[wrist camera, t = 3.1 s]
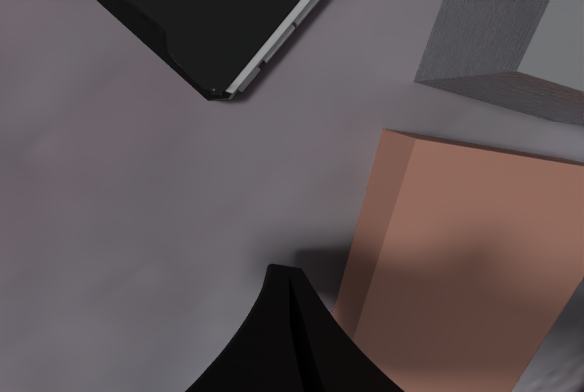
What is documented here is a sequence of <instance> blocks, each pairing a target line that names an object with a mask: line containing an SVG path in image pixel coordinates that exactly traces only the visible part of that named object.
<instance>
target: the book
mask: <svg viewBox="0 0 584 392" xmlns="http://www.w3.org/2000/svg"><path fill="white" fill-rule="evenodd" d="M583 277H584V163H581V162H577V161H572V160H567V159H562V158H556V157H550V156H544V155H538V154H532V153H526V152H520V151H513V150H507V149H501V148H495V147H489V146H483V145H477V144H471V143H465V142H459V141H453V140H447V139H441V138H435V137H429V136H423V135H417V134H411V133H405V132H399V131H393V130H387V129H383V131H382V135H381V138H380V142H379V146H378V149H377V153H376V157H375V160H374V164H373V168H372V172H371V175H370V179H369V183H368V186H367V190H366V194H365V197H364V201H363V205H362V209H361V212H360V216H359V220H358V223H357V227H356V231H355V234H354V238H353V242H352V245H351V249H350V253H349V257H348V260H347V264H346V268H345V271H344V275H343V279H342V282H341V286H340V290H339V294H338V297H337V301H336V305H335V308H334V312H333V318H334V319H335V320H336V322H337V323H338V324H339V326H340V327H341V328H342V329H343V330H344V332H345V333H346V334H347V335H348V336H349V338H350V339H351V340H352V341H353V342H354V343H355V344H356V345H357V346H358V348H359V349H360V350H361V351H362V352H363V353H364V354H365V355H366V356H367V357H368V358H369V359H370V360H371V361H372V362H373V363H374V364H375V365H376V366H377V367H378V368H379V369H380V370H381V371H382V372H383V373H384V374H385V375H387V376H388V377H389V378H390V379H391V380H392V381H393V382H394V383H395V384H397V385H398V386H399V387H400V388H401V389H402V390H404V391H405V392H511V391H512V390H513V388H514V386H515V385H516V383H517V382H518V380H519V378H520V377H521V375H522V374H523V372H524V371H525V369H526V367H527V366H528V364H529V363H530V361H531V359H532V358H533V356H534V355H535V353H536V352H537V350H538V348H539V347H540V345H541V344H542V342H543V340H544V339H545V337H546V336H547V334H548V333H549V331H550V329H551V328H552V326H553V325H554V323H555V321H556V320H557V318H558V317H559V315H560V314H561V312H562V310H563V309H564V307H565V306H566V304H567V302H568V301H569V299H570V298H571V296H572V295H573V293H574V291H575V290H576V288H577V287H578V285H579V283H580V282H581V280H582V279H583Z"/></svg>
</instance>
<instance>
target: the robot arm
mask: <svg viewBox="0 0 584 392" xmlns="http://www.w3.org/2000/svg"><path fill="white" fill-rule="evenodd" d="M185 392H405V391H404V390H402V389H401V388H400V387H399V386H398V385H397V384H395V383H394V382H393V381H392V380H391V379H390V378H389V377H388V376H387V375H385V374H384V373H383V372H382V371H381V370H380V369H379V368H378V367H377V366H376V365H375V364H374V363H373V362H372V361H371V360H370V359H369V358H368V357H367V356H366V355H365V354H364V353H363V352H362V351H361V350H360V349H359V348H358V346H357V345H356V344H355V343H354V342H353V341H352V340H351V339H350V338H349V336H348V335H347V334H346V333H345V332H344V330H343V329H342V328H341V327H340V326H339V324H338V323H337V322H336V320H335V319H334V318H333V316H332V315H331V314H330V312H329V311H328V310H327V308H326V307H325V305H324V304H323V302H322V301H321V299H320V298H319V296H318V295H317V293H316V292H315V290H314V288H313V287H312V285H311V284H310V282H309V280H308V279H307V277H306V275H305V274H304V272H303V270H302V269H301V268H295V267H289V266H283V265H277V264H270V265H268V267H267V271H266V275H265V279H264V283H263V287H262V289H261V292H260V294H259V296H258V298H257V300H256V302H255V304H254V305H253V307H252V309H251V311H250V313H249V314H248V316H247V317H246V319H245V321H244V322H243V324H242V325H241V327H240V328H239V330H238V331H237V332H236V334H235V335H234V337H233V338H232V339H231V340H230V342H229V343H228V344H227V346H226V347H225V348H224V350H223V351H222V352H221V353H220V354H219V356H218V357H217V358H216V359H215V360H214V361H213V362H212V364H211V365H210V366H209V367H208V368H207V369H206V370H205V371H204V373H203V374H202V375H201V376H200V377H199V378H198V379H197V380H196V381H195V382H194V383H193V384H192V385H191V386H190V387H189V388H188V389H187V390H186V391H185Z"/></svg>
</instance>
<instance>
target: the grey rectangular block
mask: <svg viewBox="0 0 584 392" xmlns="http://www.w3.org/2000/svg"><path fill="white" fill-rule="evenodd" d="M413 82H417V83H420V84H424V85H427V86H431V87H434V88H438V89H441V90H445V91H448V92H452V93H455V94H459V95H462V96H466V97H470V98H473V99H477V100H480V101H484V102H487V103H491V104H494V105H498V106H501V107H505V108H508V109H512V110H515V111H519V112H522V113H526V114H530V115H533V116H537V117H540V118H544V119H547V120H551V121H557V122H568V123H579V124H584V0H443V1H442V4H441V7H440V10H439V12H438V15H437V18H436V21H435V23H434V26H433V29H432V32H431V34H430V37H429V40H428V43H427V45H426V48H425V51H424V54H423V57H422V59H421V62H420V65H419V68H418V70H417V73H416V76H415V79H414V81H413Z"/></svg>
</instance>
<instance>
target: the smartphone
mask: <svg viewBox="0 0 584 392" xmlns="http://www.w3.org/2000/svg"><path fill="white" fill-rule="evenodd" d="M97 1H98V2H99V3H100V4H101V5H102V6H103V7H105V8H106V9H107V10H108V11H109V12H110V13H111V14H112V15H113V16H114V17H116V18H117V19H118V20H119V21H120V22H121V23H122V24H123V25H124V26H126V27H127V28H128V29H129V30H130V31H131V32H132V33H133V34H134V35H136V36H137V37H138V38H139V39H140V40H141V41H142V42H143V43H144V44H146V45H147V46H148V47H149V48H150V49H151V50H152V51H153V52H154V53H156V54H157V55H158V56H159V57H160V58H161V59H162V60H163V61H164V62H166V63H167V64H168V65H169V66H170V67H171V68H172V69H173V70H174V71H176V72H177V73H178V74H179V75H180V76H181V77H182V78H183V79H184V80H186V81H187V82H188V83H189V84H190V85H191V86H192V87H193V88H194V89H196V90H197V91H198V92H199V93H200V94H201V95H202V96H203V97H204V98H205V99H207V100H208V101H214V100H226V99H232V97H233V96H234V95H235V94H236V93H237V91H238V90H239V91H240V92H243V91H244V90H245V88H246V87H247V86H248V85H249V84H250V82H251V81H252V80H253V79H254V78H255V77H256V75H257V74H258V73H259V72H260V71H261V70H260V69H259V68H258V66H259V65H260V64H261V63H262V61H264V62H265V63H266V64H267V63H268V61H269V60H270V59H271V58H272V57H273V55H274V54H275V53H276V52H277V51H278V49H279V48H280V47H281V46H282V45H283V43H284V42H285V41H286V40H287V39H288V37H289V36H290V35H291V34H292V33H293V32H294V29H295V28H297V27H298V26H299V24H300V23H301V22H302V21H303V20H304V18H305V17H306V16H307V15H308V14H309V12H310V11H311V10H312V9H313V8H314V6H315V5H316V4H317V3H318V2H319V1H320V0H97Z"/></svg>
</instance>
